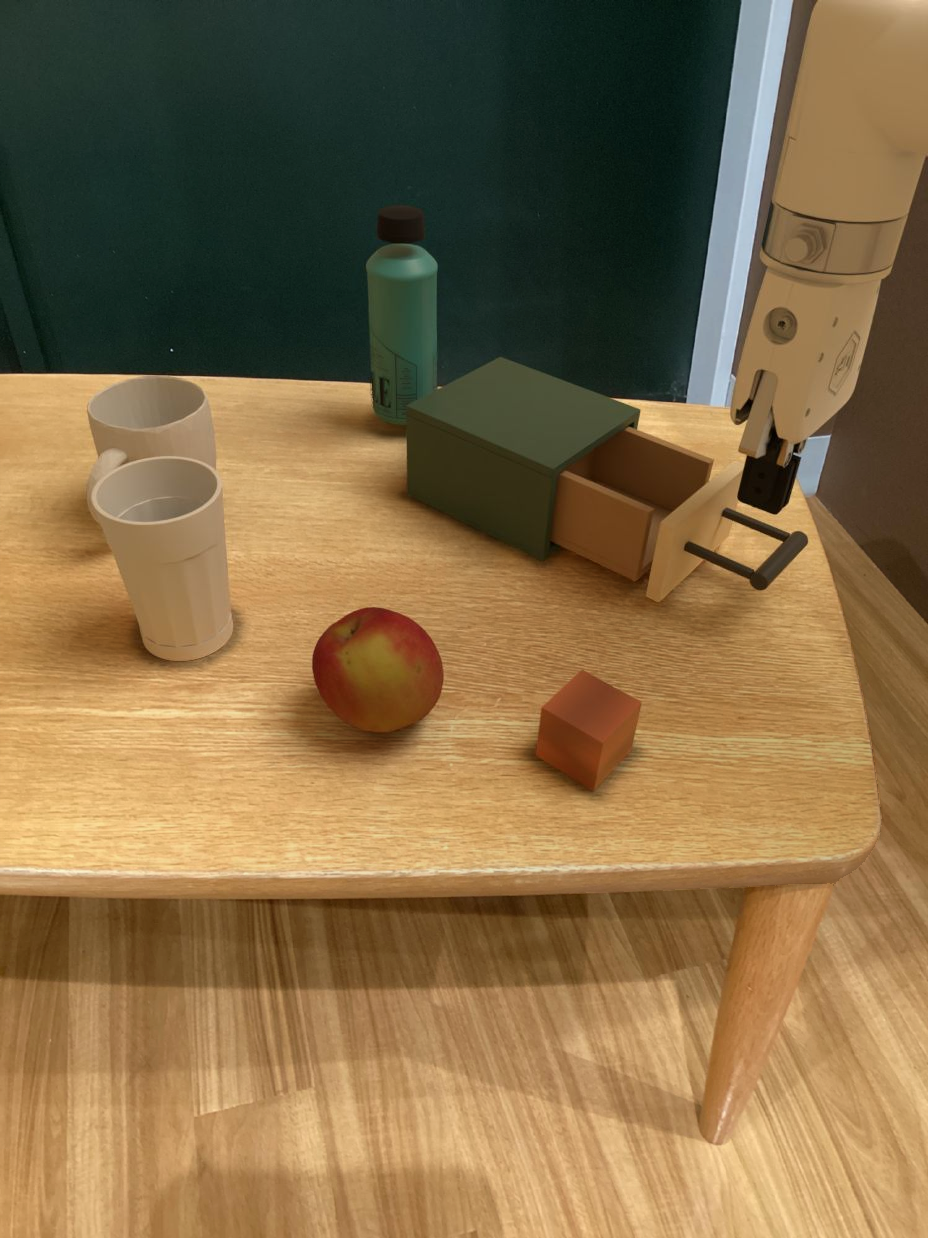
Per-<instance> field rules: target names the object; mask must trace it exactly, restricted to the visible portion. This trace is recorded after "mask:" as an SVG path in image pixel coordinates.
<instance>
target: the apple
mask: <svg viewBox="0 0 928 1238" xmlns="http://www.w3.org/2000/svg"><path fill="white" fill-rule="evenodd" d="M311 670H312V676H313V680H314V683H315V687H316V689H317V692H318V693H319V696H320V698H321V699H322V701H324V703H325V704H326V706H327V707H328V708H329V709H330V711H332V712H333V713H334V714H335V715H336V716H337V717H338V718H339V719H340V720H341V721H343V722H344V723H346V724H348V725H350V726H352V727H354V728H357V729H359V730H361V731H366V732H373V733H388V732H394V731H397V730H400V729H403V728H406V727H408V726H410V725H413V724H415V723H418V722H419V721H421V720H422V719H424V718H425V717H427V716H428V714H430V712H431V711H432V710H433V709H434V708H435V706H436V705H437V704H438V702H439V700H440V697H441V695H442V692H443V687H444V686H443V685H444V677H445V676H444V666H443V660H442V657H441V654H440V652H439V650H438V648H437V646H436V644H435V643H434V641H433V639H432V637H431V636H430V634H429V633H428V632H427V631H426V630H425V629H424V628H423V627H422V626H421V624H418V622H416V621H415V620H413V619H412V618H410V617H409V616H407V615H406V614H405V615H404V614H402V613H401V612H397V611H394V610H391V609H388V608H383V607H379V606H369V607H367V606H366V607H363V608H358V609H356V610H353V611H351V612H349V613H348V614H346V615H343V616H342V617H341V618H339V619H338V620H337V621H335V622H333V623H332V624H330V625H329V626H328V627H327V628H326V629H325V631H323V633H322V634H321V635H320V637H319V638H318V640H317V641H316V643H315V646H314V649H313V652H312V659H311Z"/></svg>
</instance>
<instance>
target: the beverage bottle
mask: <svg viewBox="0 0 928 1238" xmlns="http://www.w3.org/2000/svg"><path fill="white" fill-rule="evenodd" d="M376 237H377V239H379V240H380V241H381V242H386V243H390V244H385V245H383V246H381V247H379V248H378V249H377V250H375V252H374V253H373V254H371V256H370V257H369V258H368V260H367V261H366V264H365V271H366V275H367V278H366V279H367V294H368V295H367V297H368V302H367V303H366V305H368V315H367V316H366V317H367V318H368V319H367V320H366V322H367V324H368V327H369V329H368V330H369V347H368V348H369V351H370V352H369V353H370V356H369V358H368V359H369V362H370V364H369V367H368V369H369V372H370V379H369V380H370V381H369V389H370V391H371V393H370V396H371V398H370V402H371V405H372V409H373V410H374V414H375V415H376V416H377V417H378V418H379V419H380V420H382V421H384V422H386V423H390V424H395V425H402V426H404V425H405V426H406V406H407V405H408V404H410V403H412V402H414V401H416V400H418V399H420V398H422V397H424V396H426V395H428V394H430V393H432V392H434V391H435V390H437V389H439V388H440V387H439V382H438V381H439V376H438V373H439V368H438V366H439V361H438V359H439V356H438V351H439V350H438V349H439V348H438V346H439V343H438V338H439V335H438V333H439V331H438V327H437V326H438V325H437V324H438V321H437V320H438V319H437V318H438V317H437V316H438V315H437V308H438V307H437V306H438V305H437V303H438V302H437V300H438V297H437V295H438V290H437V289H438V269H439V265H438V262H437V261H436V259H435V258H434V256H432V255H431V254H430V253H429V252H428V250H426V249H425V248H424V247H422V246H420V245H416V244H415V243H418V242H421V241H423V240H425V238H426V226H425V214H424V212H423V210H421V209H420V208H418V207H414V206H410V205H401V204H400V205H389V206H385V207H383V208H381V209H379V210H378V212H377V224H376Z"/></svg>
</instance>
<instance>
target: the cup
mask: <svg viewBox="0 0 928 1238" xmlns="http://www.w3.org/2000/svg"><path fill="white" fill-rule="evenodd" d="M223 492H224V491H223V479H222V477H221V475H220V474H219V472H218V471H217V469H216V470H215V469H214V468H213V467H211V466H210V465H208V464H206V463H204V462H201V461H199V460H195V459H192V458H186V457H178V456H160V457H151V458H145V459H141V460H137V461H133V462H130V463H127V464H124V465H122V466H120V467H118V468H116V469H114V470H112V471H110V472H109V473H107V474H106V475H105V476H103V477H102V478H101V479H100V480H99V481H98V482H97V483H96V485H95V486H94V488H93V490H92V494H91V501H92V504H93V507H94V510H95V512H96V515H97V517H98V520H99V522H100V524H99V525H100V527H101V530H102V532H103V535H104V537H105V540H106V543H107V545H108V547H109V548H110V550H111V553H112V556H113V558H114V560H115V563H116V566H117V569H118V572H119V575H120V576H121V579H122V582H123V585H124V588H125V591H126V593H127V596H128V598H129V601H130V604H131V606H132V609H133V612H134V614H135V618H136V620H137V622H138V627H139V632H140V636H141V639H142V643H143V646H144V647H145V649H146V650H147V651H148V652H149V653H150V654H152V655H153V656H155V657H157V658H159V659H161V660H166V661H172V662H188V661H193V660H198V659H201V658H205V657H208V656H209V655H211V654H212V655H213V653H216V652H217V651H218V650H220V649H221V648H222V647H224V646H225V645H226V644H227V643H228V641H229V640H230V638H231V636H232V635H233V632H234V620H233V616H232V608H231V606H232V605H231V594H230V593H231V592H230V581H229V567H228V553H227V552H228V551H227V539H226V528H225V526H226V525H225V512H224V511H225V510H224V494H223Z"/></svg>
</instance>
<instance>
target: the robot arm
mask: <svg viewBox="0 0 928 1238" xmlns="http://www.w3.org/2000/svg"><path fill="white" fill-rule="evenodd" d="M805 34H806V35H805V39H804V44H803V48H802V54H801V58H800V63H799V68H798V71H797V72H798V73H797V77H796V82H795V87H794V92H793V96H792V99H791V106H790V110H789V115H788V119H787V124H786V128H785V132H784V133H785V134H784V138H783V143H782V148H781V153H780V157H779V161H778V162H779V163H778V166H777V172H776V177H775V181H774V182H775V183H774V186H773V192H772V196H771V199H770V204H769V208H768V213H767V218H766V222H765V227H764V232H763V236H762V240H761V246H760V251H759V260H760V261H761V262H762V263H763V264H764V265H765V266H766V267H767V268H766V270H765V273H764V276H763V279H762V281H761V282H762V283H761V285H760V288H759V291H758V294H757V298H756V301H755V305H754V308H753V311H752V315H751V317H750V320H749V321H750V322H749V325H748V328H747V332H746V336H745V341H744V343H743V347H742V350H741V351H742V352H741V355H740V359H739V363H738V367H737V371H736V376H735V380H734V385H733V390H732V396H731V401H730V409H729V415H730V416H729V417H730V420H731V421H732V423H733V424H734V425H735V426H741V425H742V424H743V423H745V422H746V424H745V427H744V429H743V433H742V435H741V438H740V442H739V445H738V448H737V450H738V453H740V454H743V455H745V456H746V457H745V462H744V464H745V465H744V469H743V473H742V477H741V482H740V486H739V490H738V494H737V499H738V502H740V503H742V504H745V505H748V506H750V507H753V508H755V509H758V510H760V511H763V512H766V513H768V514H770V515H774V516H775V515H778V514H779V513H780V512H781V511H782V510H783V509H785V507H786V506H787V505H789V503H790V500H791V495H792V493H793V489H794V485H795V482H796V479H797V474H798V471H799V468H800V464H801V460H802V457H801V456H800V455H801V454H802V452H803V451H804V449H805V447H806V445H807V442H808V439H809V438H810V437H811V436H812V435H813V434H815V432H817V431H818V430H819V429H820V428H821V427H822V426H823V425H825V424H826V423H827V422H828V421H829V420H831V418H832V417H833V416H835V414H837V413H838V412H839V411H840V410H841V409H842V408H843V407H844V406H845V405H846V404H847V403H848V402H849V400H850V398H851V397H852V395H853V393H854V391H855V388H856V386H857V381H858V378H859V374H860V371H861V366H862V362H863V359H864V354H865V350H866V347H867V344H868V340H869V336H870V332H871V328H872V324H873V320H874V315H875V311H876V306H877V303H878V299H879V293H880V288H881V283H882V280H884V279H885V278H886V277H887V276H889V275H890V274H891V271H892V269H893V266H894V261H895V259H896V256H897V253H898V249H899V245H900V243H901V240H902V236H903V233H904V229H905V227H906V223H907V220H908V217H909V213H910V208H911V206H912V203H913V199H914V196H915V193H916V189H917V186H918V184H919V183H918V182H919V179H920V176H921V173H922V170H923V166H924V164H925V159H926V157H927V158H928V0H817V1H816V3H815V4H814V6H813V9H812V12H811V14H810V19H809V22H808V26H807V30H806V33H805Z"/></svg>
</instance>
